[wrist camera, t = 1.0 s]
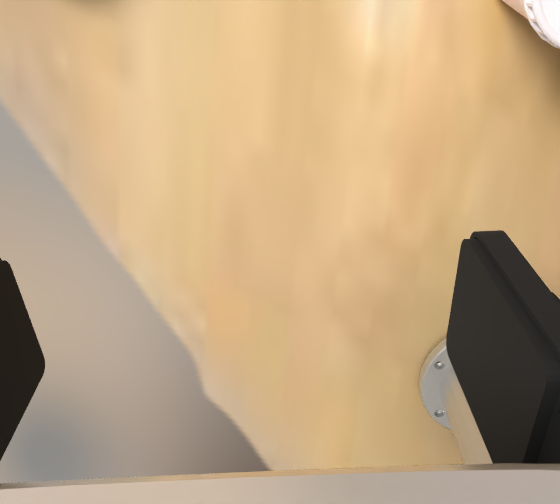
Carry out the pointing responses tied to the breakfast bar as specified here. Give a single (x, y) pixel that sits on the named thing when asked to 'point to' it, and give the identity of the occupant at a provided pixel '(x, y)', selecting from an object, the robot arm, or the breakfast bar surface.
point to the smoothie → (541, 17)
